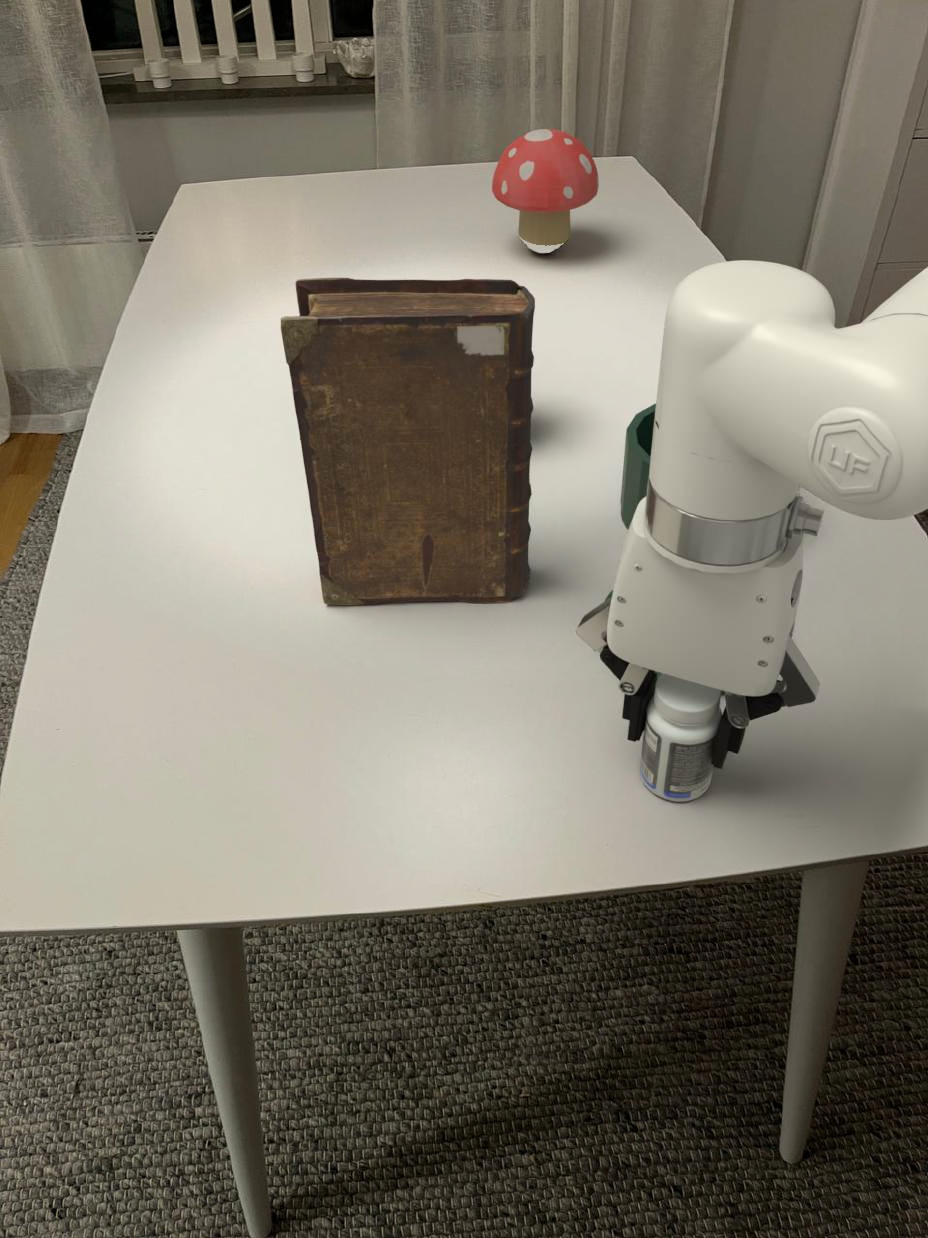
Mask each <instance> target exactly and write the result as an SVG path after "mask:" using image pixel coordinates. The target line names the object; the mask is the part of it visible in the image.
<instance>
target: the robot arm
mask: <svg viewBox="0 0 928 1238" xmlns="http://www.w3.org/2000/svg"><path fill="white" fill-rule="evenodd" d="M835 324H836V310H835V305H834V302H833V299H832V296H831V294H830V293H829V291H828V289H827V288H826V287H825V286H824V285H823V284H822V283H821V282H820V281H819V280H818V279H817V278H815V277H814V276H813V275H811V274H809V273H807V272H805V271H804V270H801V269H798V268H796V267H793V266H789V265H786V264H783V263H777V262H772V261H764V260H752V259H751V260H749V259H748V260H747V259H745V260H744V259H743V260H729V261H721V262H715V263H712V264H708V265H705V266H703V267H700V268H698V269H696V270H695V271H693V272H691V273H689V274H688V275H686V276H685V277H684V278H683V279H682V280H681V281H680V282H679V283H678V285H677V286H676V287H675V288H674V290H673V292H672V293H671V296H670V298H669V300H668V303H667V306H666V311H665V318H664V325H663V326H664V327H663V333H662V343H661V344H662V345H661V351H660V353H661V354H660V362H659V371H658V381H657V390H656V401H655V404H656V409H655V419H654V429H653V439H652V449H651V459H650V470H649V475H648V485H647V495H646V497H644V498H643V499H642V500H641V501H640V502H639V504H638V506H637V508H636V511H635V513H634V516H633V519H632V522H631V524H630V527H629V530H628V529H627V532H626V536H625V539H624V543H623V546H622V550H621V554H620V558H619V562H618V566H617V571H616V575H615V579H614V585H613V589H612V590H613V594H612V597H610V598H609V599H608V600H606V601H605V600H604V601H605V602H604V601H603V602H602V603H600V604H598V605H597V606H596V607H595V608H593V609H592V610H591V611H589V612H587V613H586V614H584V616H583V617H582V618H581V620H580V622H579V624H578V625H577V627H576V629H575V633H576V635H577V636H578V638H580V639H581V640H582V641H583V642H584V643H585V644H586V645H587V646H589V647H590V648H591V649H592V650H593V651H594V652H595V653H596V652H597V653H598V654H599V658H600V660H601V662H602V663H603V664H604V665H605V666H606V667H607V669H608V670H609V671H610V672H611V673H612V674H613V675H614V676H615V677H616V679H617V680H618V681H619V683H618V689H619V691H620V692H621V693H622V694H624V695H623V705H622V713H621V714H622V715H621V718H622V719H623V720H626V721H628V730H627V740H628V741H631V742H634V743H636V742H640V740H641V738H642V736H643V735H644V727H645V719H646V709H647V706H648V703H649V701H650V700H651V698H652V697H653V696H654V692H655V685H656V680H657V673H655V671H657V672H660V673H664V674H667V675H671V676H674V677H677V678H681V679H684V680H688V681H691V682H695V683H698V684H702V685H705V686H709V687H712V688H716V689H719V690H721V691H723V695H724V701H725V707H724V709H723V712H722V717H721V719H720V722H719V725H718V729H717V734H716V739H715V745H714V750H713V755H712V760H711V764H713V765H714V766H713V767H714V768H715V769H718V770H722V769H723V766H724V764H725V762H726V759H727V755H728V753H733V754H736V755H739V753H740V750H741V748H742V745H743V741H744V738H745V734H746V729H747V728H748V726H749V724H750V722H751V721H754V720H757V719H761V718H763V717H766V716H768V715H769V716H770V715H772V714H775V713H778V712H780V711H781V709H782V708H785V707H786V708H792V707H796V706H797V707H798V706H803V705H806V704H807V705H808V704H812V703H814V702H815V701H816V700H817V696H818V694H819V690H820V686H821V682H820V680H819V678H818V677H817V675H816V674H815V672H814V670H813V669H812V668H811V666H810V664H809V663H808V661H807V660H806V658H805V656H804V655H803V653H802V652H801V650H800V649H799V647H798V646H797V644H796V643H795V641H794V639H793V635H794V630H795V626H796V621H797V616H798V615H797V614H798V609H799V603H800V597H801V590H802V581H803V572H804V536H803V534H806V535H810V536H814V537H818V534H819V531H820V528H821V525H822V521H823V517H824V514H825V513H824V512H825V510H822V509H818V508H814V507H810V506H811V505H810V504H809V503H804V496H800V492H801V488H802V489H804V490H805V491H806V492H808V493H810V494H811V495H813V496H814V497H816V498H818V499H820V500H821V501H823V502H825V503H827V504H828V505H830V506H832V507H834V508H836V509H838V510H841V511H842V512H845V513H848V514H851V515H853V516H857V517H860V518H865V519H868V520H873V521H874V520H875V521H893V520H901V519H906V518H909V517H913V516H916V515H918V514H920V513H922V512H924V511H926V510H928V266H927V267H926V268H924V269H923V270H921V271H920V272H919V273H918V274H916V275H915V276H914V277H912V278H911V279H909V281H908V282H906V283H905V284H904V285H902V286H901V287H900V288H899V289H897V291H895V292H894V293H893V294H892V295H891V296H890V297H888V298H887V299H886V300H885V301H884V302H882V303H881V304H880V305H878V307H876V309H874V310H873V312H872V313H870V314H869V315H868V316H866V318H865V319H864V320H863V321H861V323H857V324H853V325H849V326H844V327H841V328H838V327H836V326H835ZM779 676H780V677H781V679H779Z"/></svg>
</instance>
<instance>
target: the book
mask: <svg viewBox="0 0 928 1238" xmlns="http://www.w3.org/2000/svg"><path fill="white" fill-rule="evenodd" d="M295 292H296V299H297V300H296V301H297V306H298V314H299V315H292V316H291V315H289V316H288V315H287V316H281V318H280V332H281V338H282V339H281V340H282V345H283V351H284V357H285V363H286V364H287V365H288V370H289V376H290V381H291V388H292V389H291V390H292V397H293V403H294V411H295V415H296V419H297V427H298V433H299V440H300V447H301V453H302V460H303V467H304V473H305V479H306V485H307V491H308V499H309V508H310V514H311V520H312V527H313V528H312V529H313V535H314V536H313V537H314V543H315V550H316V553H317V560H318V567H319V569H318V570H319V581H320V587H321V595H322V600H323V604H325V605H337V606H355V605H377V604H384V603H385V604H386V603H387V604H388V603H407V602H437V601H438V602H439V601H441V602H444V601H445V602H446V601H448V602H449V601H451V602H452V601H455V602H467V603H471V604H473V603H475V604H482V603H483V604H486V603H489V604H490V603H491V604H494V603H497V604H498V603H508V602H510V601H512V599H515V598H519V597H521V596H522V594H523V593H524V592H526V589H527V587H528V585H529V582H530V579H531V567H530V564H529V542H530V538H531V531H532V527H531V524H530V501H531V497H532V494H533V493H532V485H531V481H530V477H531V476H530V474H531V473H530V472H531V471H530V470H531V458H532V453H533V445H532V442H531V433H532V432H531V431H532V415H533V411H534V402H533V397H532V370H533V367H534V362H535V361H534V360H535V356H534V353H533V330H534V317H535V309H536V298H535V297H534V295H533V294H532V293H531V291H530V290H528V288H527V287H526V286H524V285H519V283H517V282H516V281H515V280H513V279H496V278H495V279H492V278H491V279H490V278H489V279H488V278H478V279H477V278H464V279H463V278H462V279H359V278H358V279H357V278H356V279H354V278H352V277H351V278H350V277H316V278H313V277H312V278H300V279H297V280H296V281H295Z"/></svg>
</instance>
